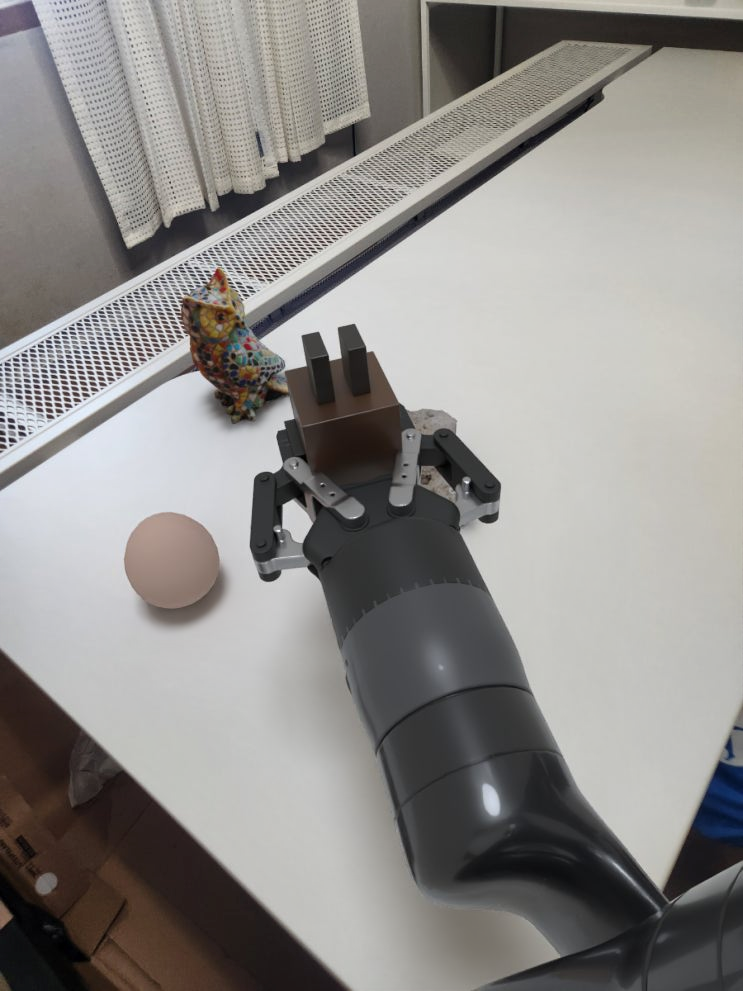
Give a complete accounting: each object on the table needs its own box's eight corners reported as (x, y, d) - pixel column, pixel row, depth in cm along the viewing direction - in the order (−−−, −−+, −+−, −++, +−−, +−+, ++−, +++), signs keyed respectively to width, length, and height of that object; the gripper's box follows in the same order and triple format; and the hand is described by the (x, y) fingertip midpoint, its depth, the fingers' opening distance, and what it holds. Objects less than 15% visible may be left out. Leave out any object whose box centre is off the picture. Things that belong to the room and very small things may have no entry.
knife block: (385, 481, 48) (369, 304, 38) (408, 537, 44) (397, 356, 34) (311, 500, 47) (274, 325, 37) (328, 558, 43) (292, 380, 33)
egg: (159, 555, 59) (126, 489, 53) (238, 557, 58) (214, 490, 52) (131, 625, 54) (91, 561, 48) (216, 629, 53) (187, 564, 47)
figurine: (291, 421, 70) (263, 291, 59) (206, 430, 70) (162, 302, 59) (292, 373, 76) (266, 246, 65) (213, 381, 76) (175, 256, 65)
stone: (466, 523, 54) (346, 504, 56) (460, 555, 59) (349, 537, 60) (483, 399, 61) (375, 384, 62) (476, 437, 66) (376, 423, 67)
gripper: (578, 549, 29) (445, 343, 41) (251, 640, 27) (209, 397, 39) (557, 642, 34) (445, 437, 46) (283, 723, 33) (238, 488, 44)
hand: (338, 420), depth 42 cm, fingers closed on knife block, 5 cm apart
